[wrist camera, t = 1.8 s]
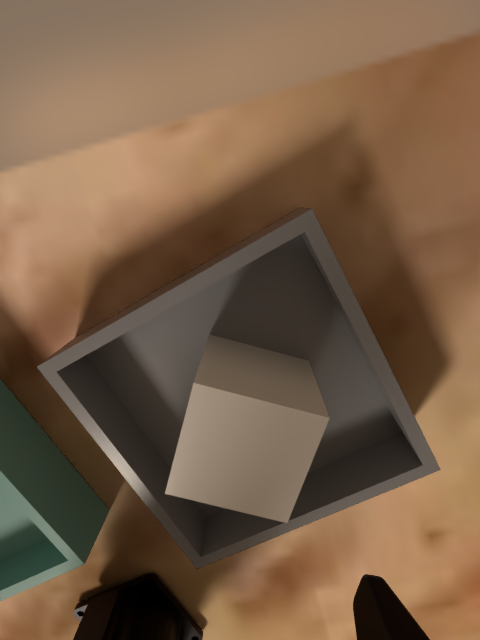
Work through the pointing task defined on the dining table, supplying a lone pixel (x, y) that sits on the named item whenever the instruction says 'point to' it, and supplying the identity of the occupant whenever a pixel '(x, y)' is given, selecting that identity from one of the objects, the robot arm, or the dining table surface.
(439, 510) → the dining table surface
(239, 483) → the stone block
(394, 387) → the charcoal bin
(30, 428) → the teal bin
